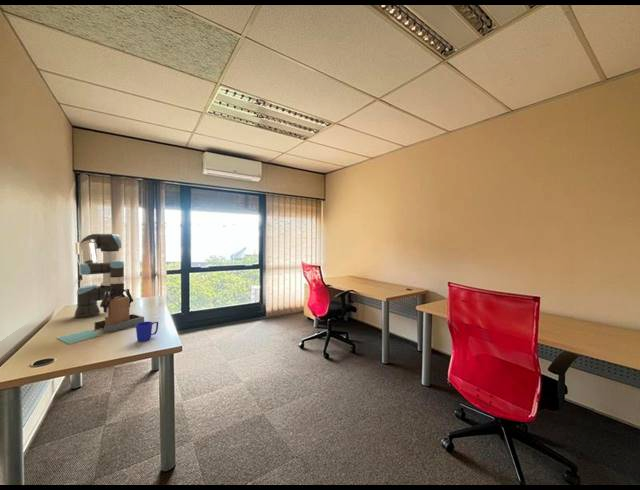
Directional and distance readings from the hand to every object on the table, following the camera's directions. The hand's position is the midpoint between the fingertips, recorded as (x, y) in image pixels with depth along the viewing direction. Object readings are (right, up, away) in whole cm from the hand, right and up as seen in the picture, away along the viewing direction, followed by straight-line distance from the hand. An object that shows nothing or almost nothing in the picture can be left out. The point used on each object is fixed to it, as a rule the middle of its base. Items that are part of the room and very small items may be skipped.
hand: (117, 314), depth 178 cm
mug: (+34, -10, -20) cm, 40 cm away
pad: (-10, -9, -17) cm, 22 cm away
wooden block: (0, -8, 0) cm, 8 cm away
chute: (+1, -9, +1) cm, 9 cm away
